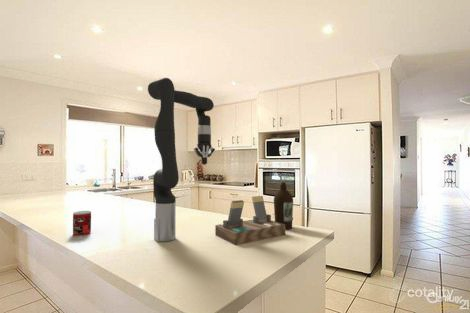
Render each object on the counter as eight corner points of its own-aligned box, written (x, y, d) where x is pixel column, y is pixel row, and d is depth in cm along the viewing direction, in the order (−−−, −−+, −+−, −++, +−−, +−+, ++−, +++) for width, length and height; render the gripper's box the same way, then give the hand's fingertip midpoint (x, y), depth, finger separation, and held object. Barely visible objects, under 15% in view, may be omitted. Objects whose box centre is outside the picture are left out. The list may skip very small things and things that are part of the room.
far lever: (258, 221, 135) (253, 196, 139) (256, 222, 136) (251, 197, 140) (267, 220, 138) (262, 195, 142) (266, 221, 140) (260, 196, 144)
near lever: (228, 227, 126) (233, 202, 122) (226, 225, 127) (231, 201, 123) (238, 225, 129) (244, 201, 125) (237, 224, 130) (242, 200, 127)
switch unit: (234, 244, 115) (234, 226, 115) (215, 235, 130) (215, 218, 131) (285, 234, 131) (285, 218, 131) (262, 227, 146) (262, 212, 147)
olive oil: (269, 226, 147) (269, 182, 147) (283, 224, 153) (283, 181, 153) (283, 231, 138) (283, 183, 139) (297, 228, 144) (297, 182, 144)
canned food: (69, 234, 132) (69, 212, 132) (84, 231, 139) (85, 210, 139) (78, 236, 128) (79, 214, 128) (94, 232, 135) (94, 211, 135)
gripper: (196, 132, 142) (196, 164, 142) (217, 134, 149) (217, 164, 149) (190, 134, 149) (190, 164, 148) (211, 135, 156) (211, 164, 155)
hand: (204, 164), depth 149 cm, fingers closed
